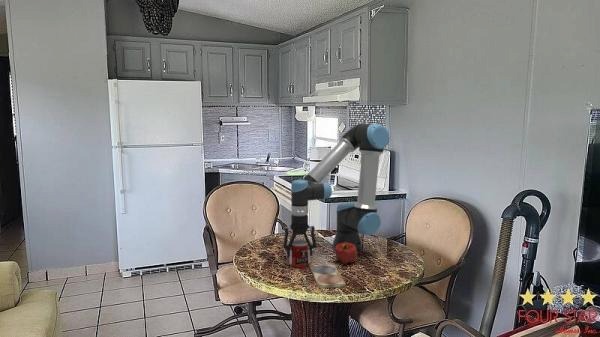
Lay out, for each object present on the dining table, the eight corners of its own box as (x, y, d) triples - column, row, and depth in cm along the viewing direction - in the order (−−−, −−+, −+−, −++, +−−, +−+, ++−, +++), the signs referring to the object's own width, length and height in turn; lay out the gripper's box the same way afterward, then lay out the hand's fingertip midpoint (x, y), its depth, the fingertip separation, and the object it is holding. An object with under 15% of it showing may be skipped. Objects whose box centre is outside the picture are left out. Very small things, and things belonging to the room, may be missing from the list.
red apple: (353, 267, 192) (354, 246, 191) (331, 265, 196) (332, 244, 194) (359, 260, 202) (359, 239, 201) (338, 257, 206) (338, 237, 205)
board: (333, 267, 192) (333, 264, 192) (345, 286, 170) (345, 283, 170) (309, 268, 190) (309, 265, 190) (318, 288, 169) (318, 284, 169)
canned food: (296, 269, 190) (296, 245, 188) (288, 264, 197) (288, 241, 195) (311, 266, 193) (311, 243, 192) (302, 261, 200) (302, 238, 199)
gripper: (277, 216, 187) (278, 266, 190) (323, 215, 190) (323, 264, 192) (276, 213, 194) (276, 261, 197) (320, 211, 197) (320, 259, 200)
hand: (299, 262), depth 195 cm, fingers closed on canned food, 8 cm apart
